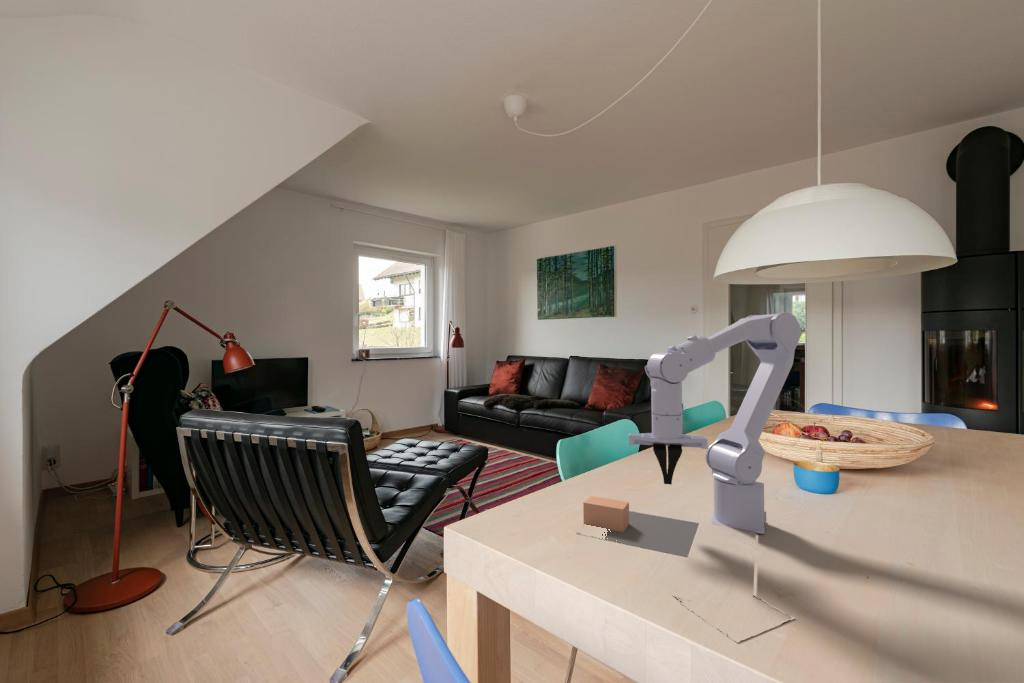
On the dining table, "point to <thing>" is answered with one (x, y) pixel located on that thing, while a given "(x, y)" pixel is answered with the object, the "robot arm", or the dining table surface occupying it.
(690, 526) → the charcoal mat
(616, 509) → the terracotta block
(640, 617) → the dining table surface
